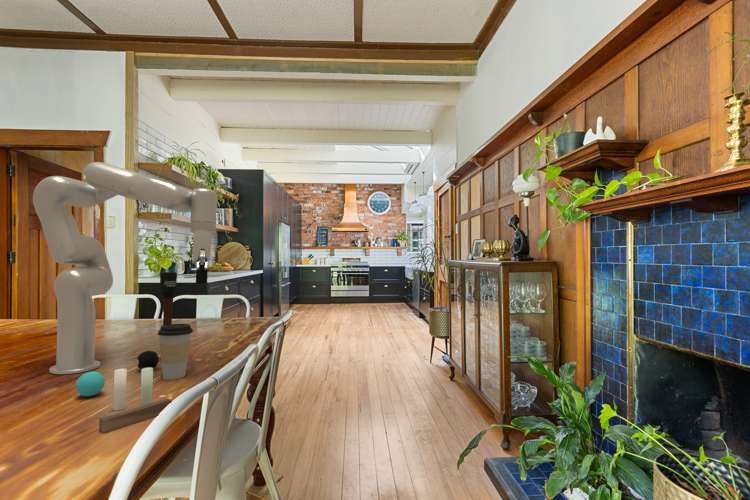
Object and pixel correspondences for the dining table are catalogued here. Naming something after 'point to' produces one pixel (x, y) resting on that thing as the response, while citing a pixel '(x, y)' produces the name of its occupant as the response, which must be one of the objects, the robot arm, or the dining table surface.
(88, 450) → the dining table surface
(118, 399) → the cream pin
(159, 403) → the walnut rail
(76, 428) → the dining table surface
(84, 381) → the ball
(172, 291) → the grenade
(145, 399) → the sage pin
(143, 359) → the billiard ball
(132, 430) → the dining table surface
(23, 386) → the dining table surface
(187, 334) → the coffee cup
